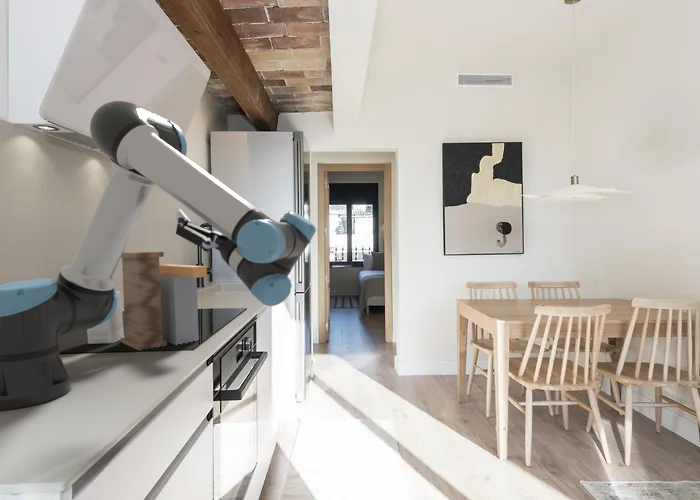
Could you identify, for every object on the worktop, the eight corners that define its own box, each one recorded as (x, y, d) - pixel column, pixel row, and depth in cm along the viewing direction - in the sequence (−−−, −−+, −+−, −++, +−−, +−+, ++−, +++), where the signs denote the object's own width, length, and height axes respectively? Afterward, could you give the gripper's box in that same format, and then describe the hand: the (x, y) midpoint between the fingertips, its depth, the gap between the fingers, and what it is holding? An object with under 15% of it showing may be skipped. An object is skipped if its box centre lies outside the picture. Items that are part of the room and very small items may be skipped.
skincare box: (124, 339, 140) (122, 291, 140) (111, 344, 134) (109, 293, 133) (100, 339, 141) (98, 291, 141) (85, 344, 135) (83, 293, 134)
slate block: (176, 345, 130) (173, 276, 130) (156, 337, 142) (153, 274, 141) (198, 340, 135) (196, 274, 134) (177, 333, 146) (175, 272, 146)
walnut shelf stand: (138, 350, 125) (135, 252, 124) (120, 342, 136) (117, 252, 135) (167, 345, 130) (163, 251, 129) (147, 337, 142) (144, 251, 141)
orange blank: (193, 277, 123) (193, 267, 123) (158, 274, 142) (158, 265, 142) (206, 276, 126) (206, 266, 126) (170, 273, 145) (170, 264, 145)
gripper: (186, 274, 92) (152, 227, 105) (283, 267, 109) (244, 227, 122) (193, 243, 89) (157, 199, 102) (291, 240, 106) (250, 203, 119)
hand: (204, 214), depth 112 cm, fingers open, 13 cm apart
